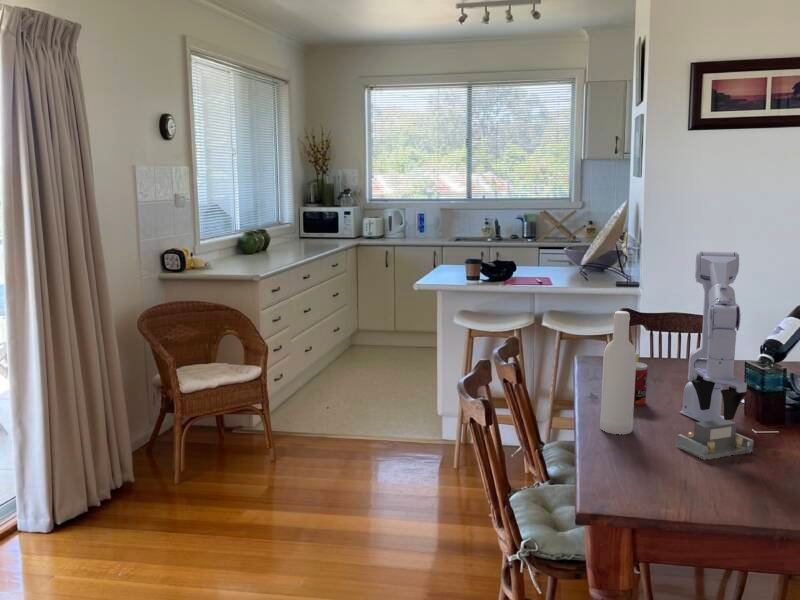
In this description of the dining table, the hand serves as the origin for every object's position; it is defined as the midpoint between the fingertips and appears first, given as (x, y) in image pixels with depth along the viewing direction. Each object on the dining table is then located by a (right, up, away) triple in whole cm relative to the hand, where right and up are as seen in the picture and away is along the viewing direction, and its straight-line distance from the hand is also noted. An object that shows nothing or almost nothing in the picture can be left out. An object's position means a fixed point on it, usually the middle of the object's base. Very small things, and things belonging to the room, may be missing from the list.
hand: (716, 414), depth 175 cm
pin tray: (0, -8, +1) cm, 9 cm away
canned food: (-8, -3, +38) cm, 39 cm away
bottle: (-19, -6, +15) cm, 25 cm away
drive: (0, -7, +1) cm, 8 cm away
